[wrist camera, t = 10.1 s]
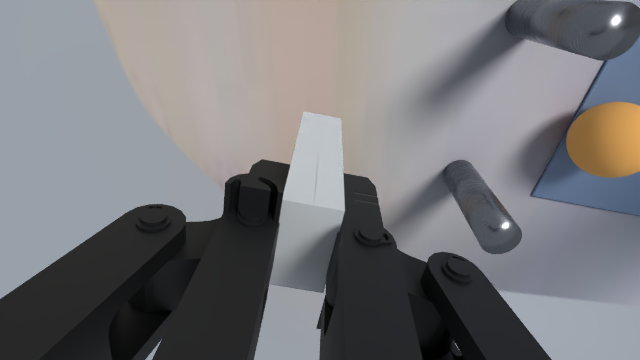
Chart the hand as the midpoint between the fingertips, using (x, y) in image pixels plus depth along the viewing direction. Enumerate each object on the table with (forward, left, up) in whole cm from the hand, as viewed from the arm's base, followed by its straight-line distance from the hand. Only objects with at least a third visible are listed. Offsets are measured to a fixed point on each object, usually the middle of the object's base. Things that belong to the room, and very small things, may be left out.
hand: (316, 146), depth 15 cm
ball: (-22, 0, -12) cm, 24 cm away
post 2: (-13, -6, -14) cm, 20 cm away
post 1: (-13, +6, -14) cm, 20 cm away
